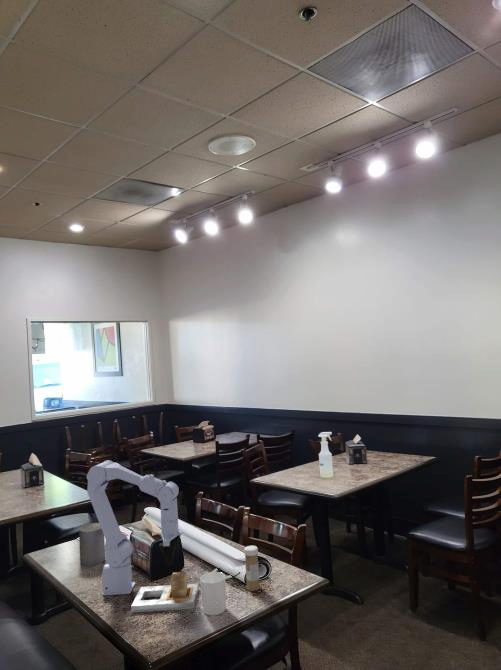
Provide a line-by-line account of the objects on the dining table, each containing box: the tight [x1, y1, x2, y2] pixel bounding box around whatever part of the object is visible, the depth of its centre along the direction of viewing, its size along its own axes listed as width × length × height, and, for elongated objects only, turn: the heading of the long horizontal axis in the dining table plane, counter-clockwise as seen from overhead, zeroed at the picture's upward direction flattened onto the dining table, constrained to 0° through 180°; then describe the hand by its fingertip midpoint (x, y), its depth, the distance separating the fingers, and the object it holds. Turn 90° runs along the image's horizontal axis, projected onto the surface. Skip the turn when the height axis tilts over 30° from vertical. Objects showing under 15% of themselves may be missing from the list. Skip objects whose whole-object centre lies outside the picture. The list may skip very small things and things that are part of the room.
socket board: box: [130, 583, 199, 614], centre depth 159 cm, size 20×13×2 cm, turn 89°
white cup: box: [199, 571, 227, 616], centre depth 152 cm, size 8×8×10 cm
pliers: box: [198, 567, 233, 587], centre depth 174 cm, size 10×2×15 cm
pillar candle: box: [78, 522, 106, 567], centre depth 197 cm, size 10×10×15 cm
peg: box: [170, 571, 189, 598], centre depth 160 cm, size 4×4×8 cm
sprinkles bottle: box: [243, 545, 261, 592], centre depth 165 cm, size 5×5×14 cm
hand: (171, 559), depth 167 cm, fingers open, 7 cm apart
